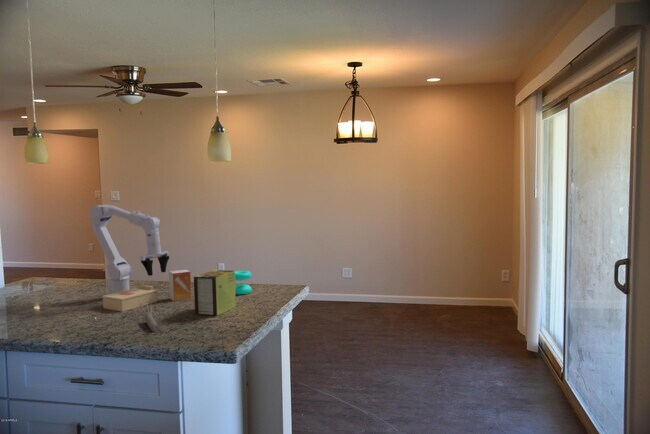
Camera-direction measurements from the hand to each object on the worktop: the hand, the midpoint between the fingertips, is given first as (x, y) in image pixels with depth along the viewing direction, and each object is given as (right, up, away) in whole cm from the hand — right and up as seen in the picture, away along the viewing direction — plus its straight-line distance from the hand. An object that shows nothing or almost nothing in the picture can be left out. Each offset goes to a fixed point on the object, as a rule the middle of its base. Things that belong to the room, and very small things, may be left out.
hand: (157, 273), depth 227 cm
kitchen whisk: (+8, -15, -34) cm, 38 cm away
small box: (+10, -12, 0) cm, 16 cm away
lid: (-8, -8, -10) cm, 15 cm away
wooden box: (-8, -13, -10) cm, 18 cm away
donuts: (+36, -11, +12) cm, 39 cm away
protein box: (+31, -13, -19) cm, 38 cm away
